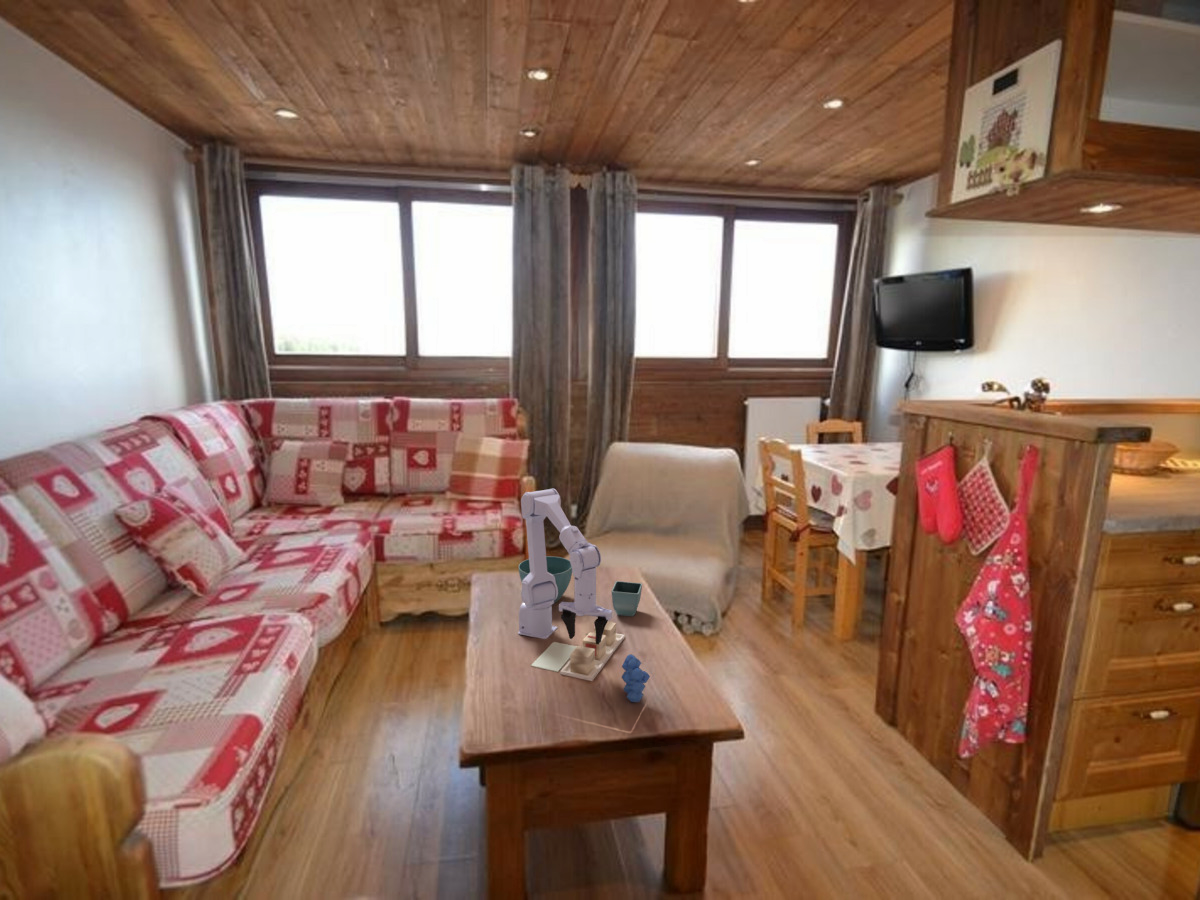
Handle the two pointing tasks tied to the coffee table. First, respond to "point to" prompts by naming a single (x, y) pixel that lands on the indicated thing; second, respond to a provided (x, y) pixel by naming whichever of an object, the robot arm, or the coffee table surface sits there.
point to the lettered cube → (595, 645)
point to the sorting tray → (598, 663)
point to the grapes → (634, 678)
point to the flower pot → (626, 597)
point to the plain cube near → (582, 660)
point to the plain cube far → (609, 633)
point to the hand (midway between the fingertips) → (585, 639)
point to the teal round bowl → (552, 572)
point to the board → (554, 657)
